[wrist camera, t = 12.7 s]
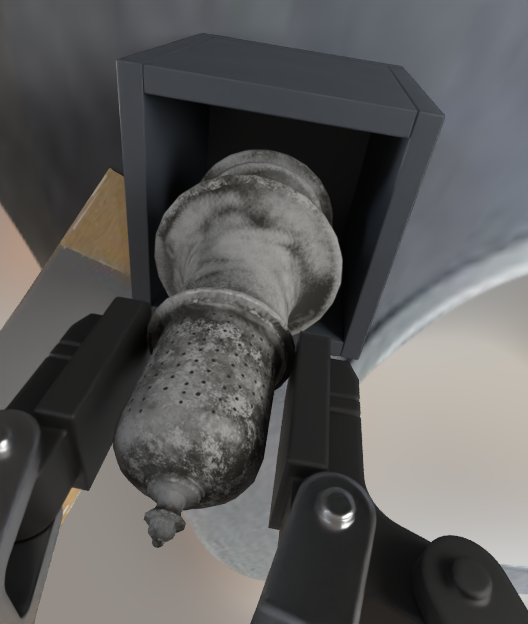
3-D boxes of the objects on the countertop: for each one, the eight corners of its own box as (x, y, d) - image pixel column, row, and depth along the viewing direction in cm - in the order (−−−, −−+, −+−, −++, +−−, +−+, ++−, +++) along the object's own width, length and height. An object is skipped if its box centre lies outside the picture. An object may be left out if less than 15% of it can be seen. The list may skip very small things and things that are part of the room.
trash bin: (194, 219, 26) (132, 318, 18) (201, 32, 21) (115, 59, 13) (351, 247, 26) (358, 360, 18) (403, 66, 20) (446, 115, 12)
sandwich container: (234, 245, 27) (151, 447, 15) (137, 378, 35) (36, 575, 24) (107, 162, 25) (-105, 320, 13) (37, 325, 33) (-129, 511, 21)
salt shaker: (166, 152, 15) (-120, 422, 6) (335, 127, 14) (332, 419, 4) (206, 291, 19) (69, 610, 9) (346, 281, 17) (358, 636, 8)
